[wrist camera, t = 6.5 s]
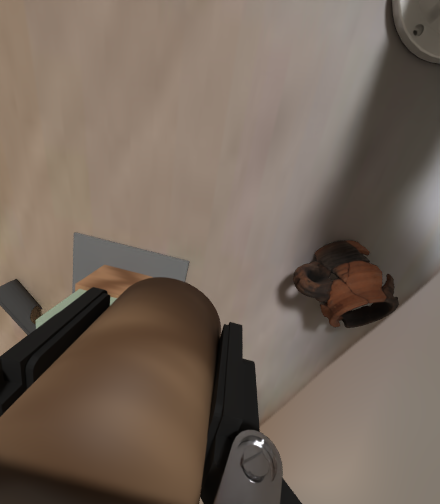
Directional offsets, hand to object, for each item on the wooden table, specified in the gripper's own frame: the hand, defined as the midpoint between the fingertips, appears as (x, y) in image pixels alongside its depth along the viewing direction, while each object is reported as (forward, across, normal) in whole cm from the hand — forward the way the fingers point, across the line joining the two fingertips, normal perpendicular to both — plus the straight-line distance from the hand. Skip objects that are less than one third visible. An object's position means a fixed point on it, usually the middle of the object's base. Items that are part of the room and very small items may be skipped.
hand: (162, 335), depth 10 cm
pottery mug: (+21, -16, +2) cm, 27 cm away
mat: (+21, +10, +12) cm, 26 cm away
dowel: (+1, 0, 0) cm, 1 cm away
